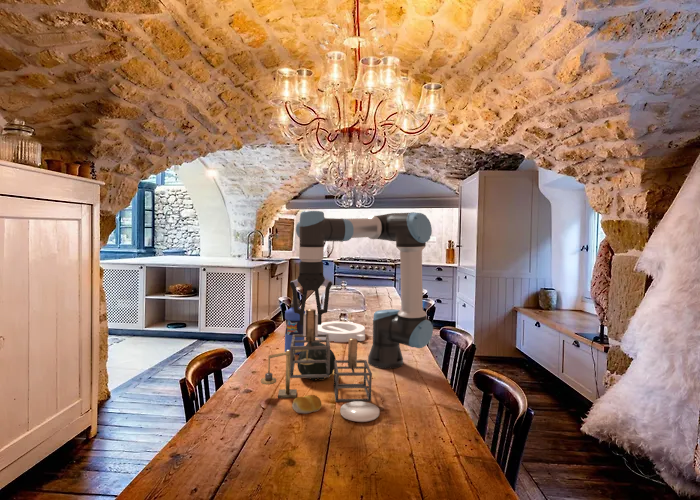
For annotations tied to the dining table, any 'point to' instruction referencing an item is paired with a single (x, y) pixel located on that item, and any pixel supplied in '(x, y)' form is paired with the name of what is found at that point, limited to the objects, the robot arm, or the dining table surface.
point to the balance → (287, 391)
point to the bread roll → (307, 404)
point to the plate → (359, 411)
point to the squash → (316, 367)
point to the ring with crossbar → (341, 331)
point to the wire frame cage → (309, 347)
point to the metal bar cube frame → (352, 373)
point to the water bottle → (293, 327)
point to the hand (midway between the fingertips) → (310, 334)
